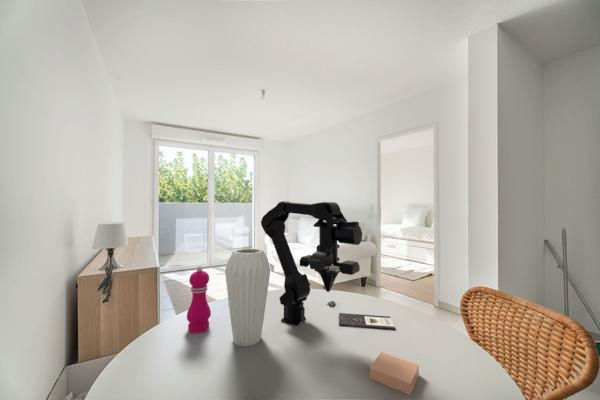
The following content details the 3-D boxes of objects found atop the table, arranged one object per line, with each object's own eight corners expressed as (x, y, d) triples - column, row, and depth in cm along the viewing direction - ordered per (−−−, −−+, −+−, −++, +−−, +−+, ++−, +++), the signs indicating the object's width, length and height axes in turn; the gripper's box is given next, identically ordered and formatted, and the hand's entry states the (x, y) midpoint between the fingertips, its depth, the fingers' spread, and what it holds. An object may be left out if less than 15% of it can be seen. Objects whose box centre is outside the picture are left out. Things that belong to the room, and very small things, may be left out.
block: (369, 367, 60) (410, 383, 54) (381, 352, 66) (418, 365, 61) (369, 379, 60) (410, 396, 54) (381, 362, 66) (418, 376, 61)
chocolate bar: (339, 312, 94) (389, 316, 92) (338, 315, 94) (389, 319, 92) (339, 324, 85) (395, 328, 83) (339, 327, 85) (395, 331, 83)
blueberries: (339, 303, 107) (339, 298, 107) (342, 309, 99) (342, 304, 99) (323, 303, 107) (323, 298, 107) (325, 309, 99) (325, 304, 99)
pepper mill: (191, 336, 78) (191, 270, 78) (183, 327, 83) (184, 266, 84) (214, 329, 83) (214, 266, 83) (205, 321, 88) (206, 262, 88)
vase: (215, 339, 76) (216, 250, 77) (252, 324, 86) (253, 245, 86) (239, 358, 67) (241, 257, 67) (278, 339, 76) (279, 251, 77)
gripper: (289, 242, 80) (289, 292, 80) (344, 248, 69) (343, 306, 69) (309, 238, 89) (308, 283, 89) (360, 243, 78) (360, 294, 78)
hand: (328, 291), depth 81 cm, fingers closed
